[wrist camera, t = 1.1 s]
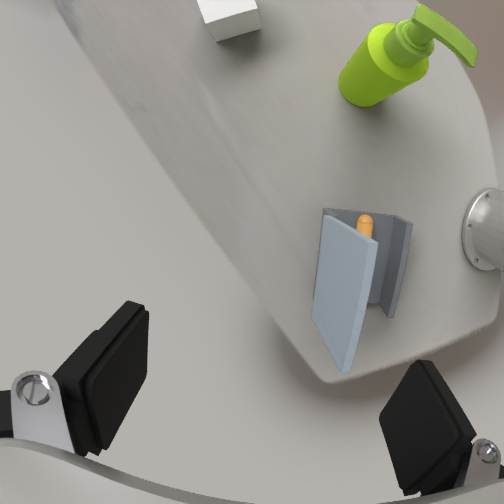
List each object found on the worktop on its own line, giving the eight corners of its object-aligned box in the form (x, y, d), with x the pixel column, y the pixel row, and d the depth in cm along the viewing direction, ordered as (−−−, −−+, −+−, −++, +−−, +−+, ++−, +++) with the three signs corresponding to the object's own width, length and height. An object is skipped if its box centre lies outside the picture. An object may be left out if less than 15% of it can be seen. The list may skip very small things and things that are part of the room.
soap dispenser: (378, 120, 31) (471, 87, 12) (330, 91, 31) (383, 22, 12) (395, 85, 30) (486, 33, 11) (349, 56, 29) (407, -26, 10)
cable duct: (397, 215, 35) (412, 223, 30) (381, 300, 38) (393, 317, 33) (323, 208, 35) (330, 215, 31) (313, 297, 39) (317, 315, 34)
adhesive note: (247, -3, 28) (242, -26, 22) (261, 29, 29) (258, 8, 24) (204, 10, 29) (192, -11, 23) (216, 42, 30) (205, 23, 24)
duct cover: (378, 242, 20) (368, 242, 20) (349, 373, 24) (341, 374, 24) (330, 215, 30) (323, 215, 30) (317, 316, 34) (310, 317, 34)
